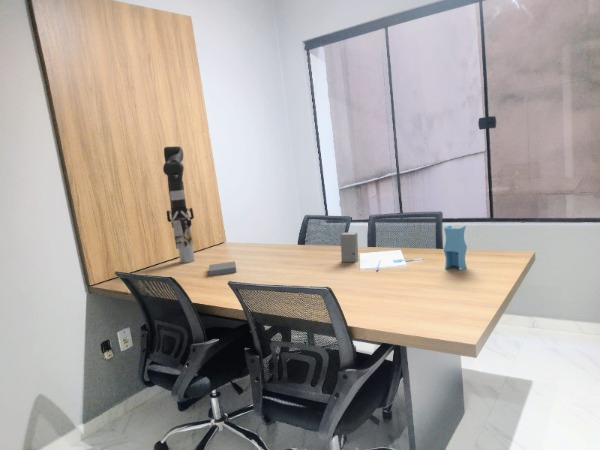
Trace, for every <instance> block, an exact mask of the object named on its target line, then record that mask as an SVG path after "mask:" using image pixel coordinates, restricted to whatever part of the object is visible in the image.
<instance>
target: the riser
mask: <svg viewBox="0 0 600 450" xmlns="http://www.w3.org/2000/svg"><path fill="white" fill-rule="evenodd" d="M235 273H237V266H236V261H234V260H233V261H229V262H221V263H220V262H219V263H214V264H209V266H208V275H209V277H215V276H220V275H221V276H222V275H228V274H235Z"/></svg>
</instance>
